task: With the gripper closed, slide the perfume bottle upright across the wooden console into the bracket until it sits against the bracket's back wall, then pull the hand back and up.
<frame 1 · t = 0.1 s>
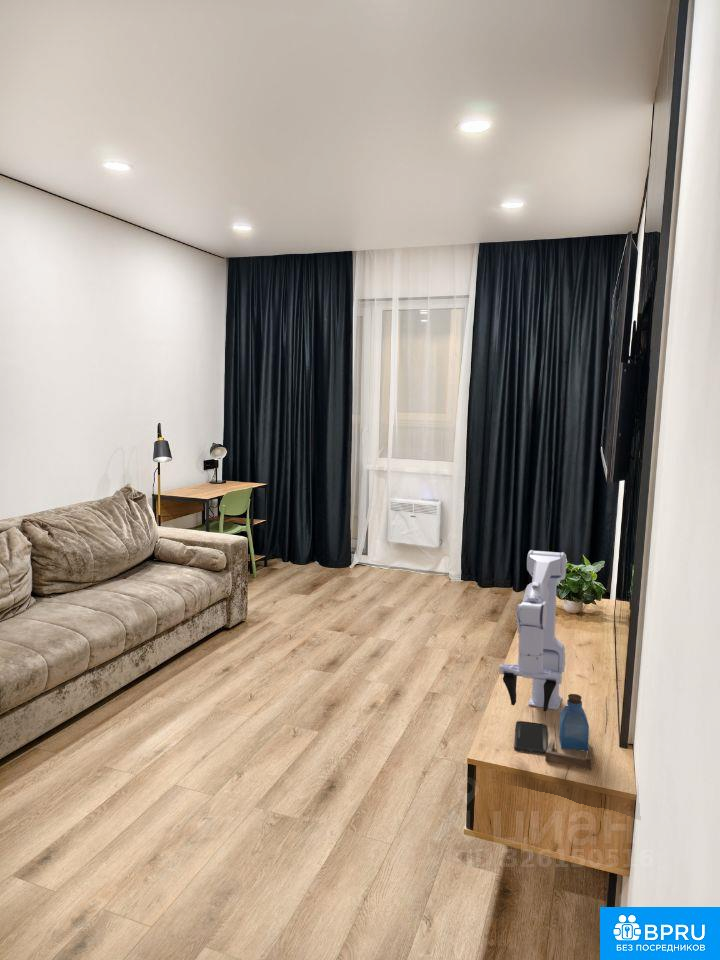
hand: (529, 706, 157), 10 cm above the table, tool pointing down, fingers open, 7 cm apart
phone: (530, 740, 162), on the table
perfume bottle: (573, 744, 160), on the table
bracket: (569, 756, 153), on the table
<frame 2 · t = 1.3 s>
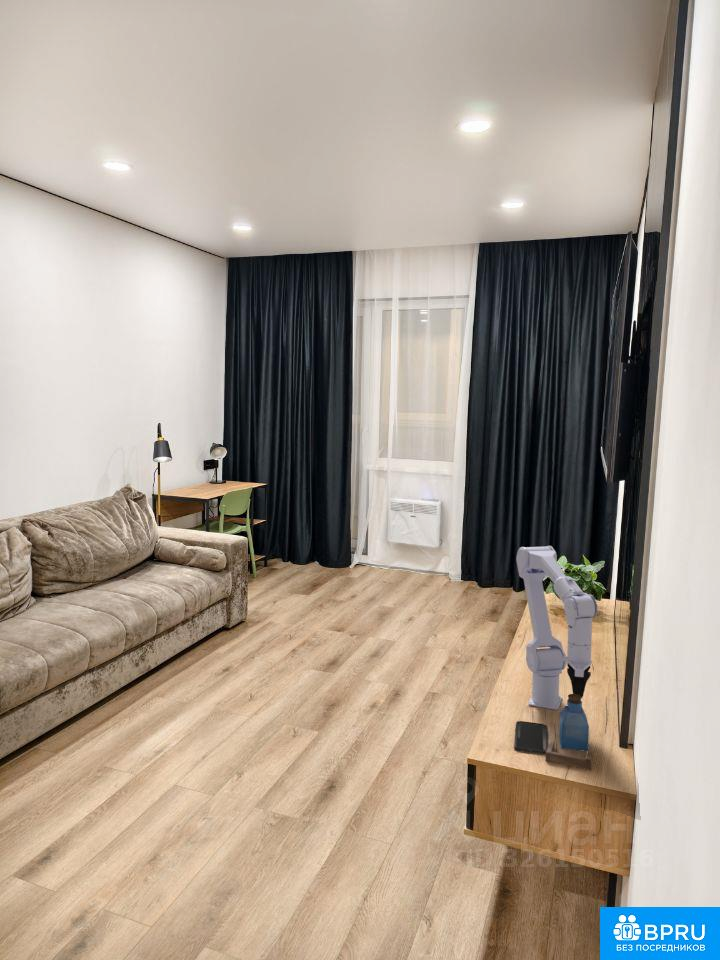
hand: (578, 694, 166), 9 cm above the table, tool pointing down, fingers open, 3 cm apart
nothing on the table moved.
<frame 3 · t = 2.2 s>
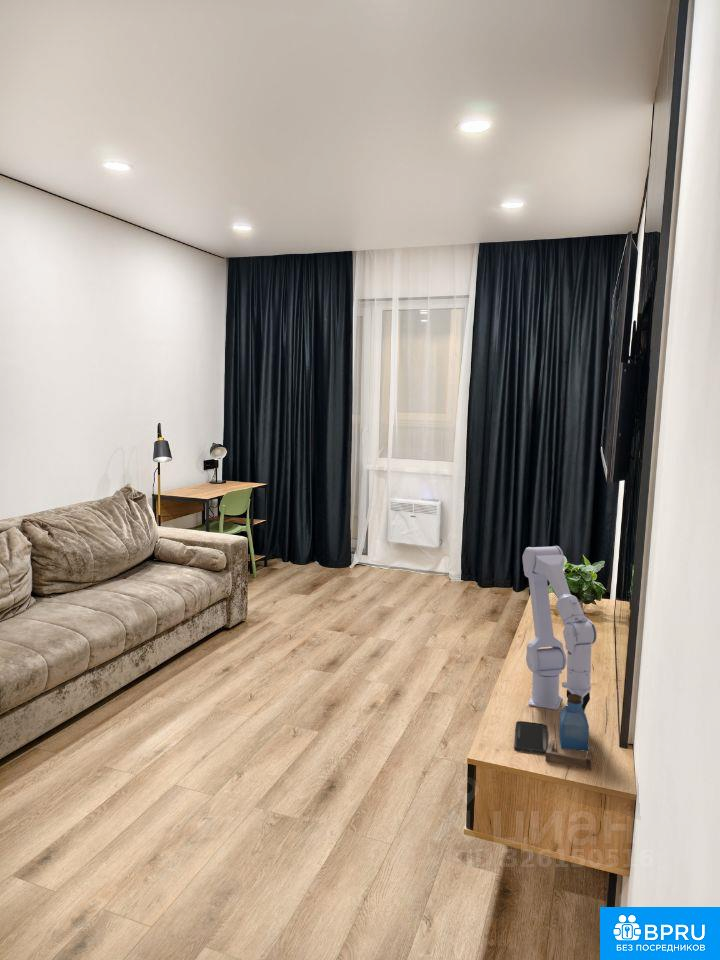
hand: (577, 720, 167), 3 cm above the table, tool pointing down, fingers closed
nothing on the table moved.
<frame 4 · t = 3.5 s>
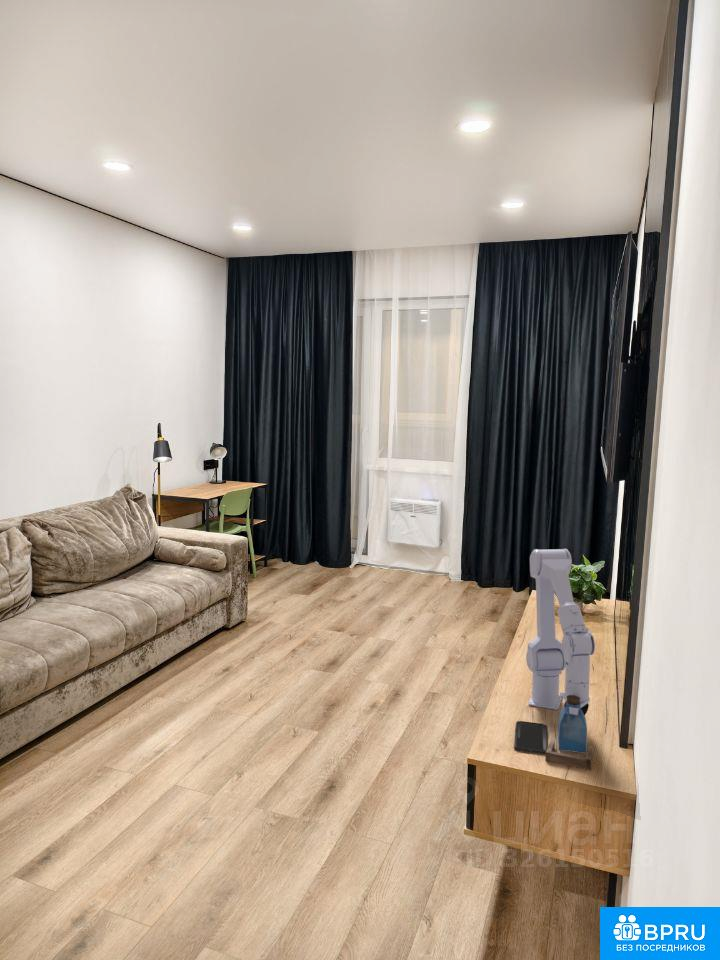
hand: (575, 732, 163), 1 cm above the table, tool pointing down, fingers closed
perfume bottle: (571, 746, 159), on the table, touching gripper
everything else where it was.
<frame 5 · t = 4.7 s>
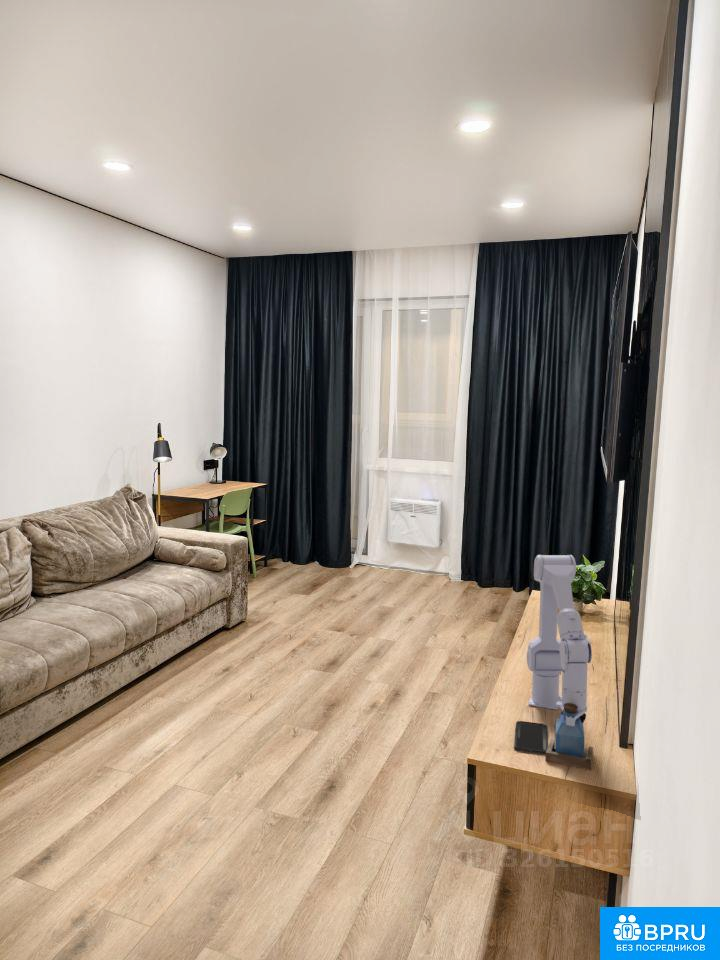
hand: (572, 742, 158), 1 cm above the table, tool pointing down, fingers closed, pressing on perfume bottle
perfume bottle: (569, 755, 154), on the table, touching gripper
everything else where it was.
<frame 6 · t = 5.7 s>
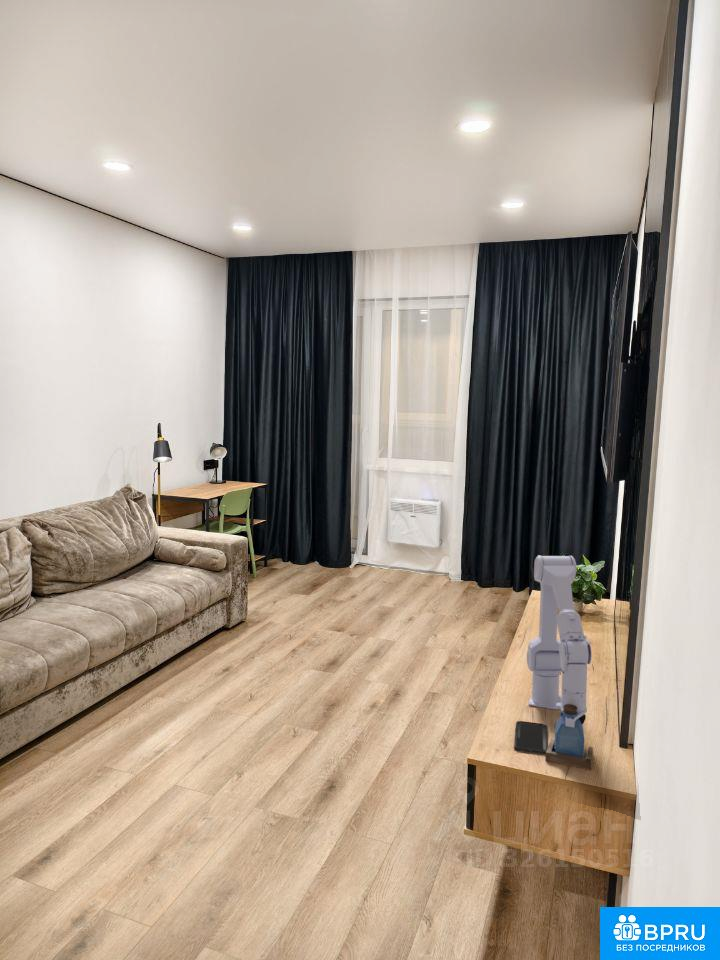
hand: (572, 743, 157), 1 cm above the table, tool pointing down, fingers closed, pressing on perfume bottle
perfume bottle: (568, 756, 154), on the table, touching gripper
everything else where it was.
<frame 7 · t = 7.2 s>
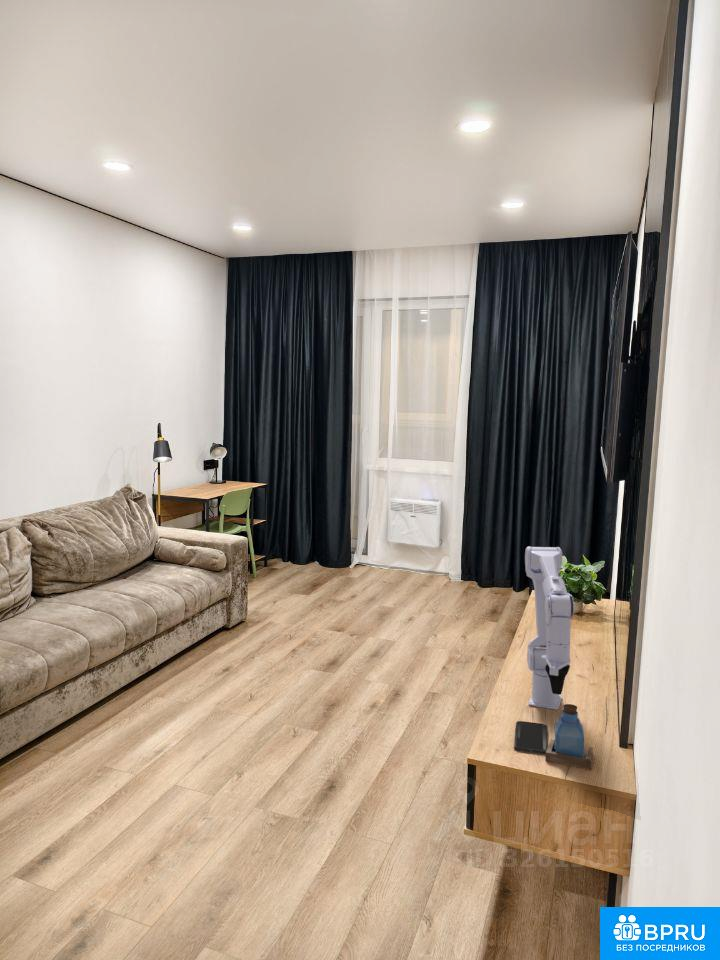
hand: (556, 693, 167), 9 cm above the table, tool pointing down, fingers closed
perfume bottle: (568, 756, 154), on the table
everything else where it was.
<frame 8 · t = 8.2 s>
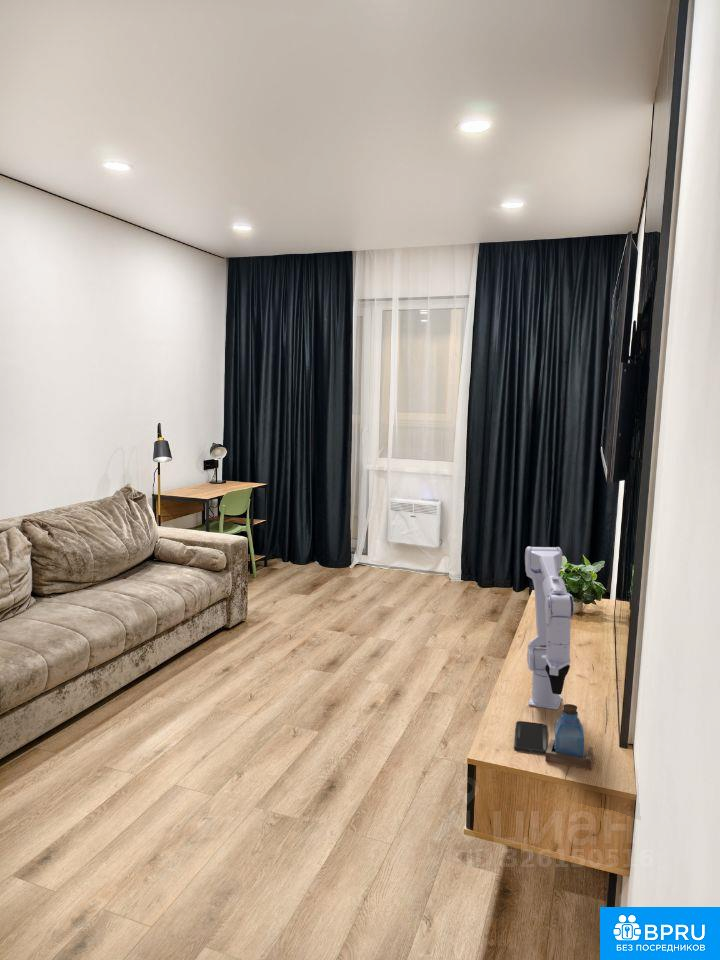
hand: (556, 693, 167), 9 cm above the table, tool pointing down, fingers closed
nothing on the table moved.
at the end: perfume bottle 0.3 cm off-centre on the bracket, point 0.0 cm above the bracket's base; perfume bottle tilted 0° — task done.
